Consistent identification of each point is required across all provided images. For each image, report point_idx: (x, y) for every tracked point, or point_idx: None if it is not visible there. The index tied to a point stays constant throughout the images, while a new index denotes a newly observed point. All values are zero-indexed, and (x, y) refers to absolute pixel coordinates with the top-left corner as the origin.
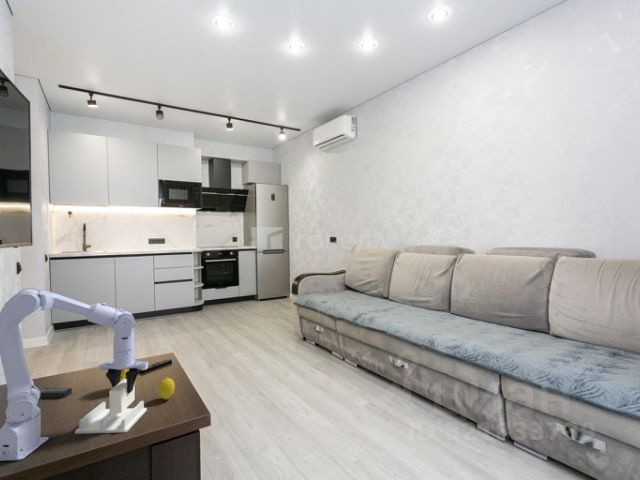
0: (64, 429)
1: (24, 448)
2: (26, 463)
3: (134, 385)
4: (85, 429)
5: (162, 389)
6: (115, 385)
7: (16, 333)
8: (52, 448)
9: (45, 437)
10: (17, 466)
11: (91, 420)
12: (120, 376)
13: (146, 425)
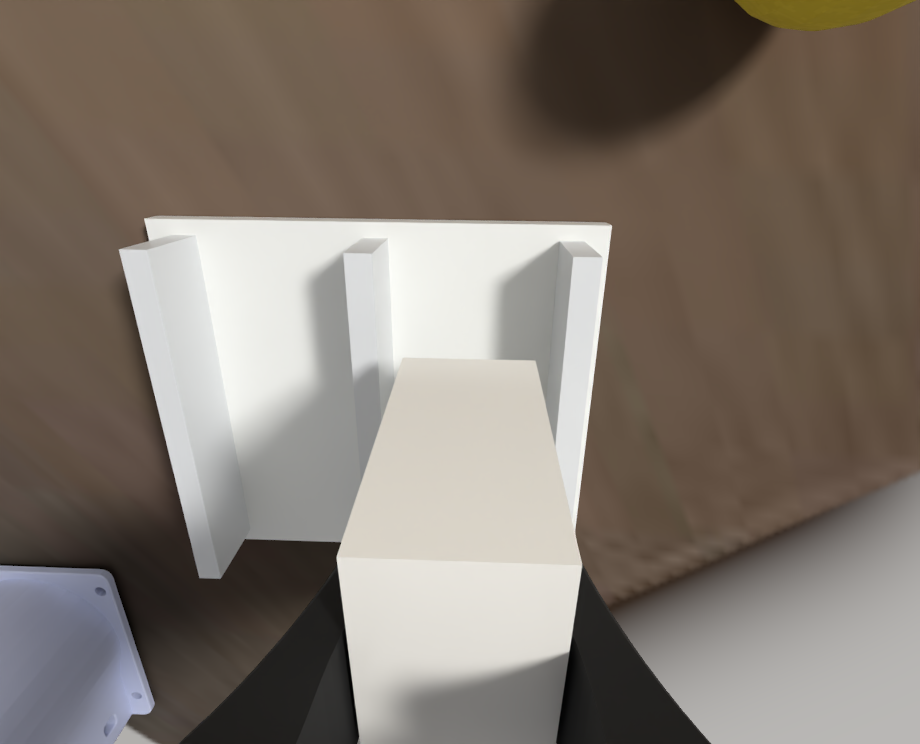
0: (101, 473)
1: (106, 714)
2: (202, 718)
3: (560, 470)
4: (274, 528)
5: (844, 11)
6: (352, 742)
7: None
8: (220, 637)
9: (83, 575)
10: (182, 730)
11: (228, 438)
12: (303, 734)
13: (685, 468)
